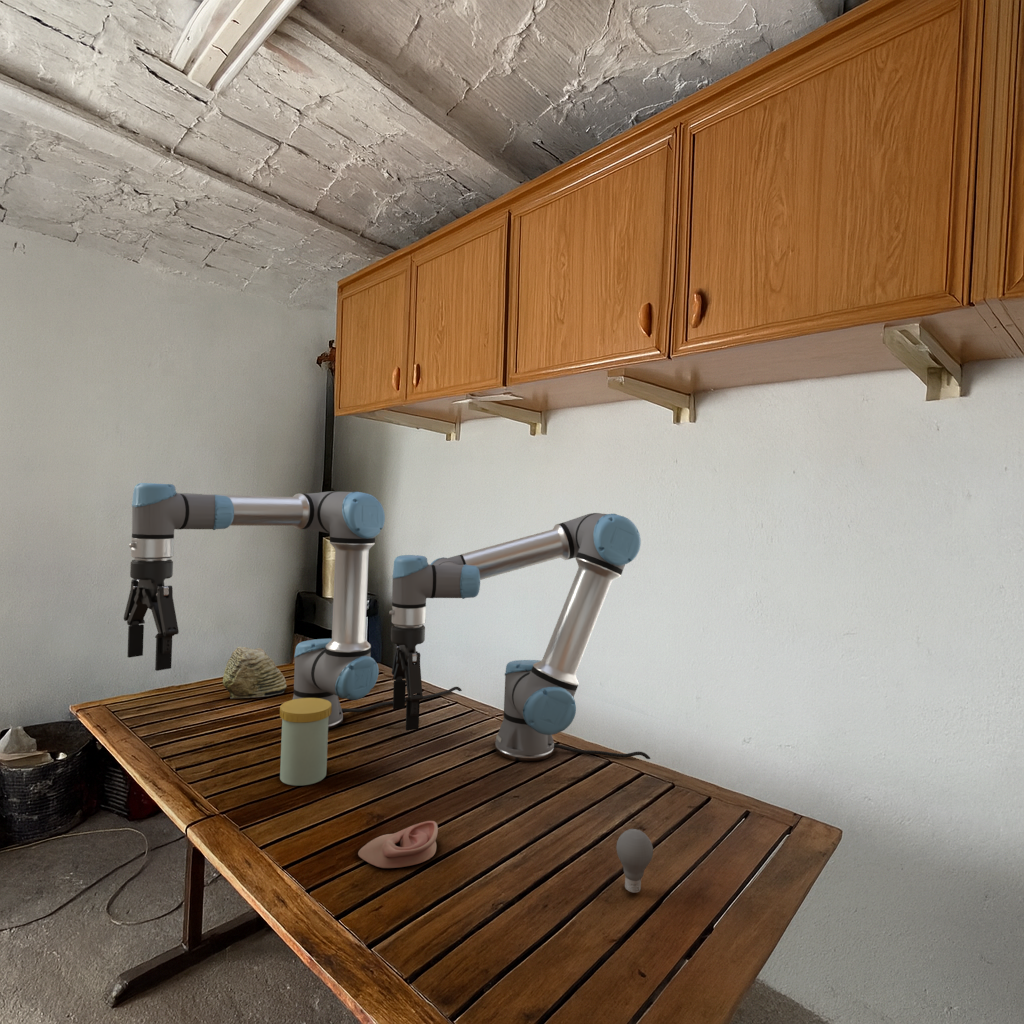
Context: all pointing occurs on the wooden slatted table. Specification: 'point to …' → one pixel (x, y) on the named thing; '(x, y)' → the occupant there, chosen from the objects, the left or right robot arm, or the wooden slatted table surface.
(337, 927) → the wooden slatted table surface
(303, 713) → the lid
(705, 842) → the wooden slatted table surface
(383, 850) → the anatomical model
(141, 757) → the wooden slatted table surface
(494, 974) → the wooden slatted table surface
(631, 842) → the light bulb
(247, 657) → the fossil
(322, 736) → the jar
